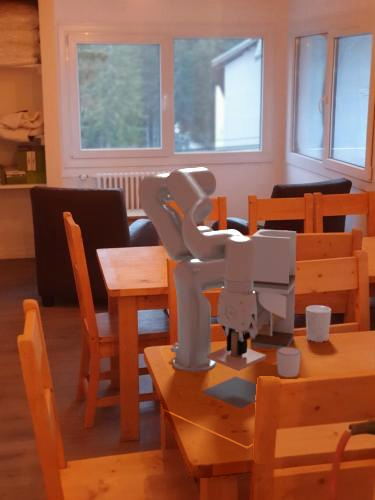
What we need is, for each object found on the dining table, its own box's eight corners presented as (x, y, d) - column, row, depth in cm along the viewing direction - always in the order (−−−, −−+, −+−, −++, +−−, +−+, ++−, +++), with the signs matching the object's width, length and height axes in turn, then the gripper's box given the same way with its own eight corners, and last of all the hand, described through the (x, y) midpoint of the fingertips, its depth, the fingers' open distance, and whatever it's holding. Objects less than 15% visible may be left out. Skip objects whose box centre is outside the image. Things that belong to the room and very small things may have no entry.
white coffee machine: (250, 345, 219) (251, 235, 211) (258, 334, 229) (260, 229, 221) (286, 350, 215) (289, 238, 207) (293, 338, 225) (296, 231, 217)
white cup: (304, 342, 222) (305, 312, 219) (305, 333, 229) (305, 304, 227) (330, 343, 220) (331, 313, 218) (329, 335, 228) (330, 305, 226)
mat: (200, 393, 186) (200, 391, 186) (235, 377, 195) (235, 376, 195) (240, 409, 176) (240, 408, 176) (275, 392, 186) (275, 391, 185)
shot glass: (299, 380, 193) (300, 356, 192) (274, 378, 195) (275, 354, 193) (300, 370, 200) (301, 347, 198) (276, 368, 201) (277, 345, 200)
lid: (206, 358, 184) (207, 331, 182) (234, 346, 192) (235, 321, 190) (238, 371, 177) (239, 343, 175) (266, 358, 184) (267, 331, 182)
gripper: (205, 280, 182) (204, 347, 187) (253, 295, 171) (251, 365, 176) (224, 275, 187) (223, 339, 192) (273, 288, 176) (270, 357, 181)
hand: (236, 351), depth 184 cm, fingers closed on lid, 3 cm apart
